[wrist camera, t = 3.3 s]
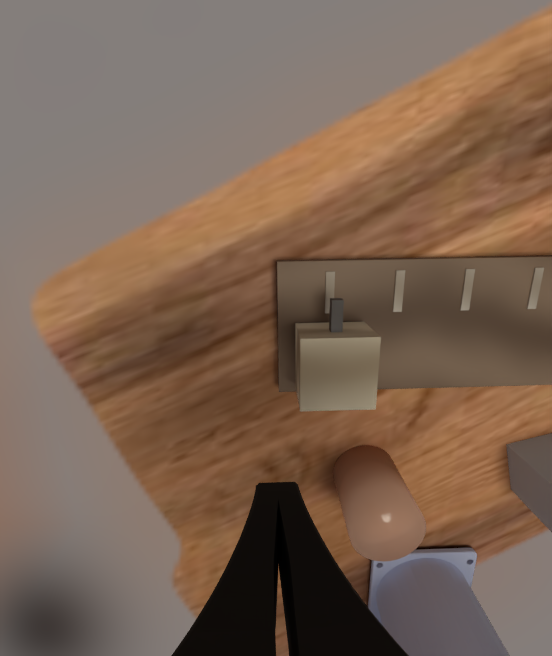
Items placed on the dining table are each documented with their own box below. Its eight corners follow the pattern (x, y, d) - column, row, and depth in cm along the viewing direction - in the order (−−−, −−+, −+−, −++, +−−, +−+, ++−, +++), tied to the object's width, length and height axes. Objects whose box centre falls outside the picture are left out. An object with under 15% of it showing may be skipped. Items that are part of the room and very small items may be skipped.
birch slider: (360, 384, 20) (375, 409, 18) (295, 386, 20) (300, 411, 18) (365, 292, 19) (383, 303, 16) (295, 294, 19) (300, 305, 16)
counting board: (607, 376, 22) (624, 383, 21) (278, 384, 22) (279, 392, 21) (641, 253, 20) (662, 254, 19) (276, 260, 20) (277, 261, 19)
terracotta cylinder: (391, 495, 25) (422, 560, 20) (332, 498, 24) (348, 562, 20) (396, 444, 23) (430, 498, 19) (333, 446, 23) (351, 501, 18)
